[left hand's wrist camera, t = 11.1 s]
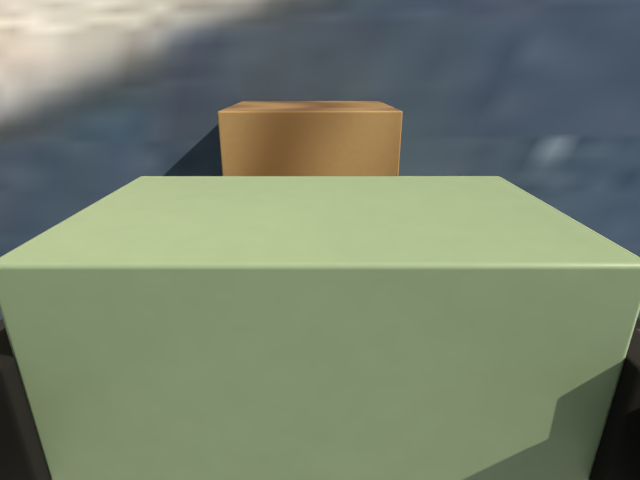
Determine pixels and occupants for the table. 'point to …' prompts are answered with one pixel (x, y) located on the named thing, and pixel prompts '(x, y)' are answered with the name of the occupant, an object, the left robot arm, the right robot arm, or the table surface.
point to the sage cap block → (319, 331)
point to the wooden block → (310, 138)
